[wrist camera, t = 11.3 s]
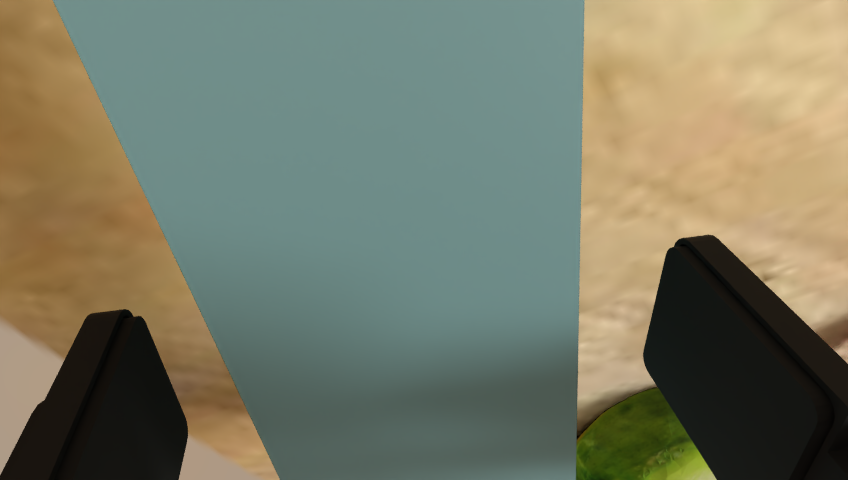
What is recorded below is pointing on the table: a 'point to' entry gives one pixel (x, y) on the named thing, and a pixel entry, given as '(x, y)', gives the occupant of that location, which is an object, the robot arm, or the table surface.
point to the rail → (368, 217)
